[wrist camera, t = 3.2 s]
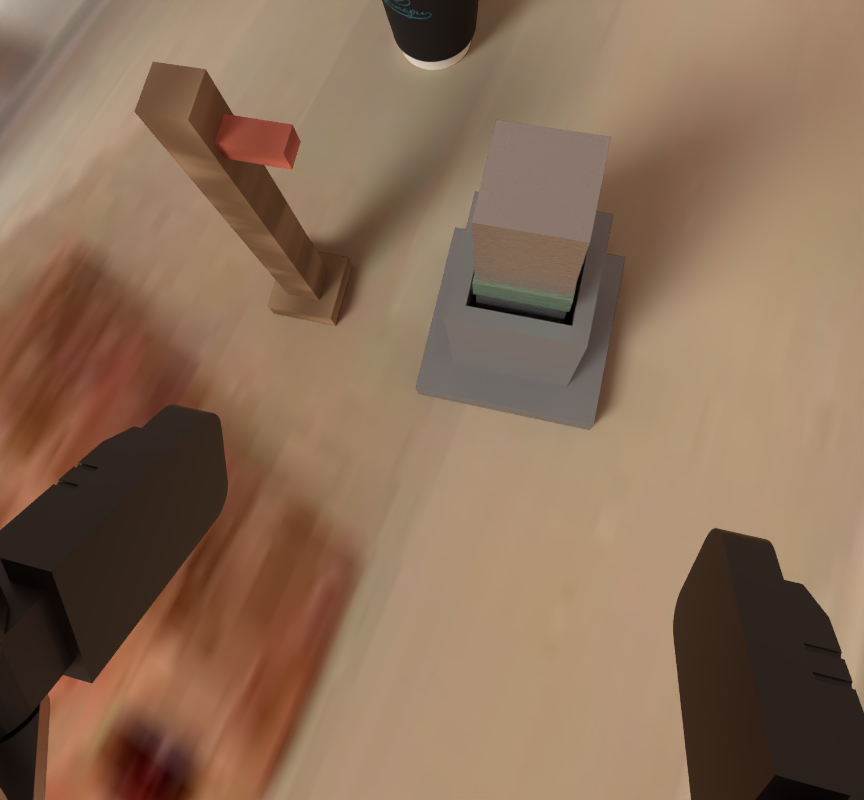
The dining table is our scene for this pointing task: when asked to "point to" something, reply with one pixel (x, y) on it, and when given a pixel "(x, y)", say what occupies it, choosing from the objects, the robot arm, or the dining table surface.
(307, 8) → the dining table surface
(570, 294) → the steel column
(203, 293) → the dining table surface
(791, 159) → the dining table surface
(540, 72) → the dining table surface
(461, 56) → the dixie cup
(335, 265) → the height gauge
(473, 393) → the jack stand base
